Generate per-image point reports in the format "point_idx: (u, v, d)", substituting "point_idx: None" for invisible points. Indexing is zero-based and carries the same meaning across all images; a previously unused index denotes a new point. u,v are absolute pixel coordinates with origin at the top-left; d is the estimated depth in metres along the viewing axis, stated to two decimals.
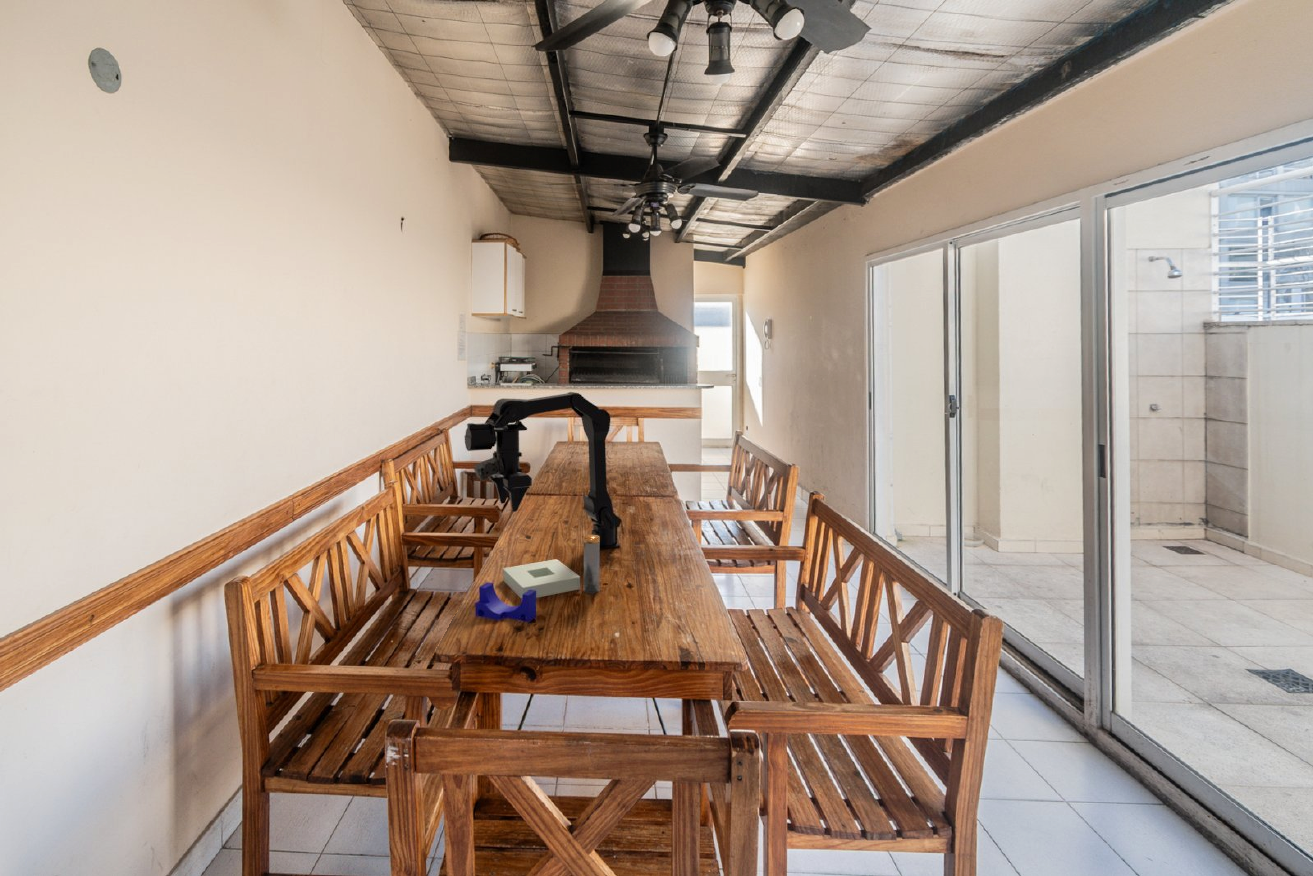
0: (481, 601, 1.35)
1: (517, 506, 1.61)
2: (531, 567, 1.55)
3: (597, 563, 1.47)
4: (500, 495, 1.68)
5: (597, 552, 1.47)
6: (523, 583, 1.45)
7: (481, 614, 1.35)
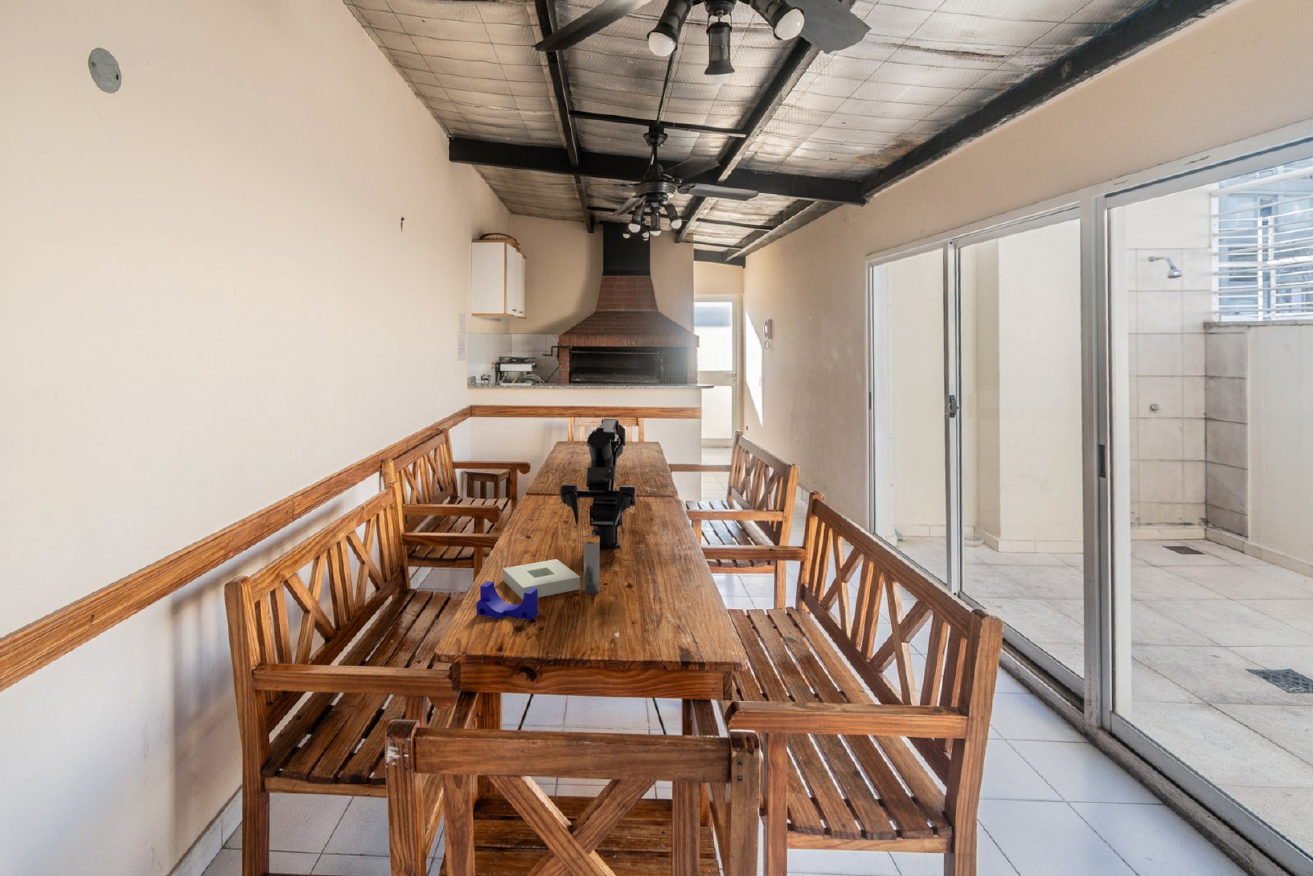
0: (482, 600, 1.36)
1: (617, 521, 1.57)
2: (531, 567, 1.55)
3: (597, 563, 1.47)
4: (577, 514, 1.57)
5: (597, 552, 1.47)
6: (523, 583, 1.45)
7: (482, 613, 1.35)
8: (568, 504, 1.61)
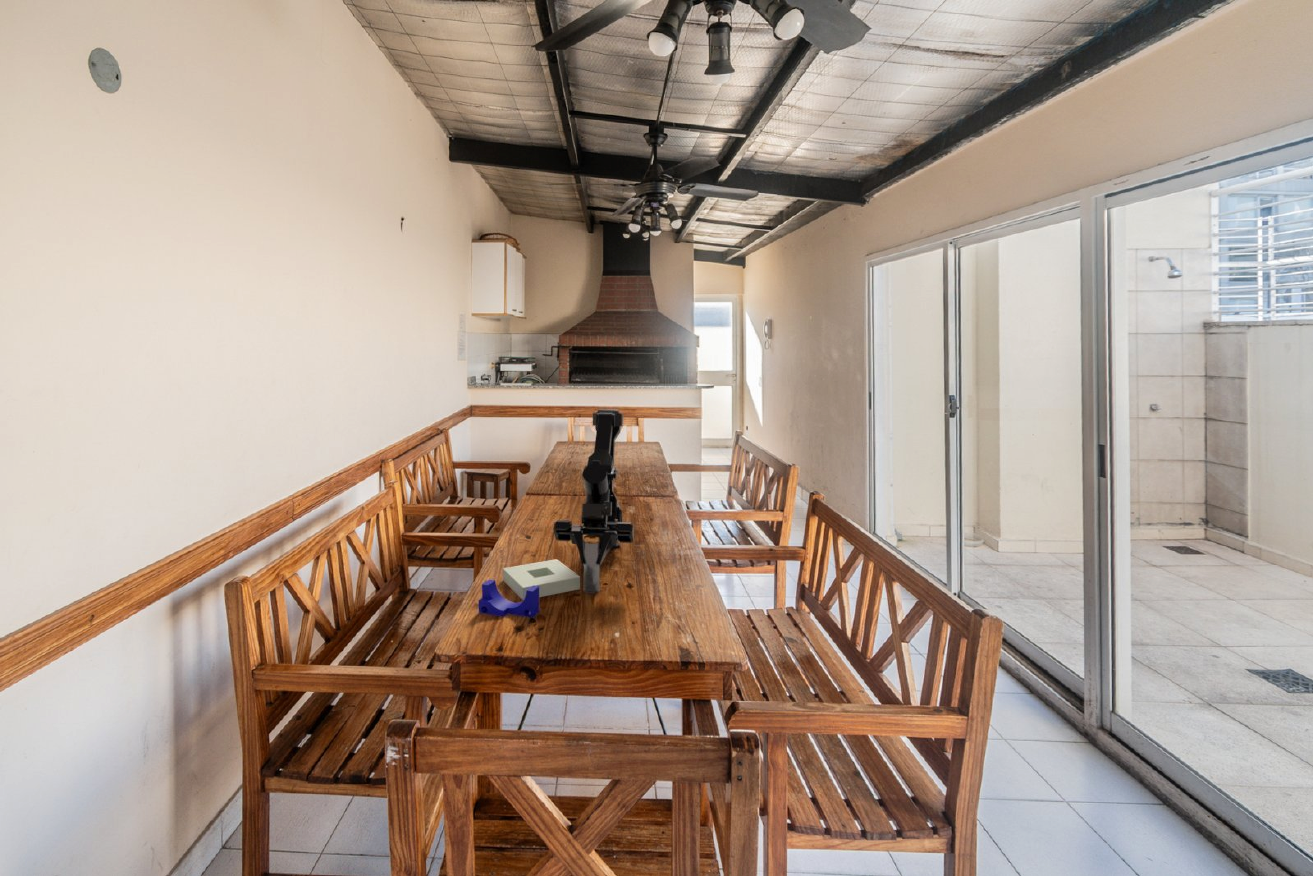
0: (484, 598, 1.37)
1: (602, 560, 1.48)
2: (531, 567, 1.55)
3: (597, 563, 1.47)
4: (583, 554, 1.48)
5: (597, 552, 1.47)
6: (523, 583, 1.45)
7: (484, 611, 1.36)
8: (573, 542, 1.52)
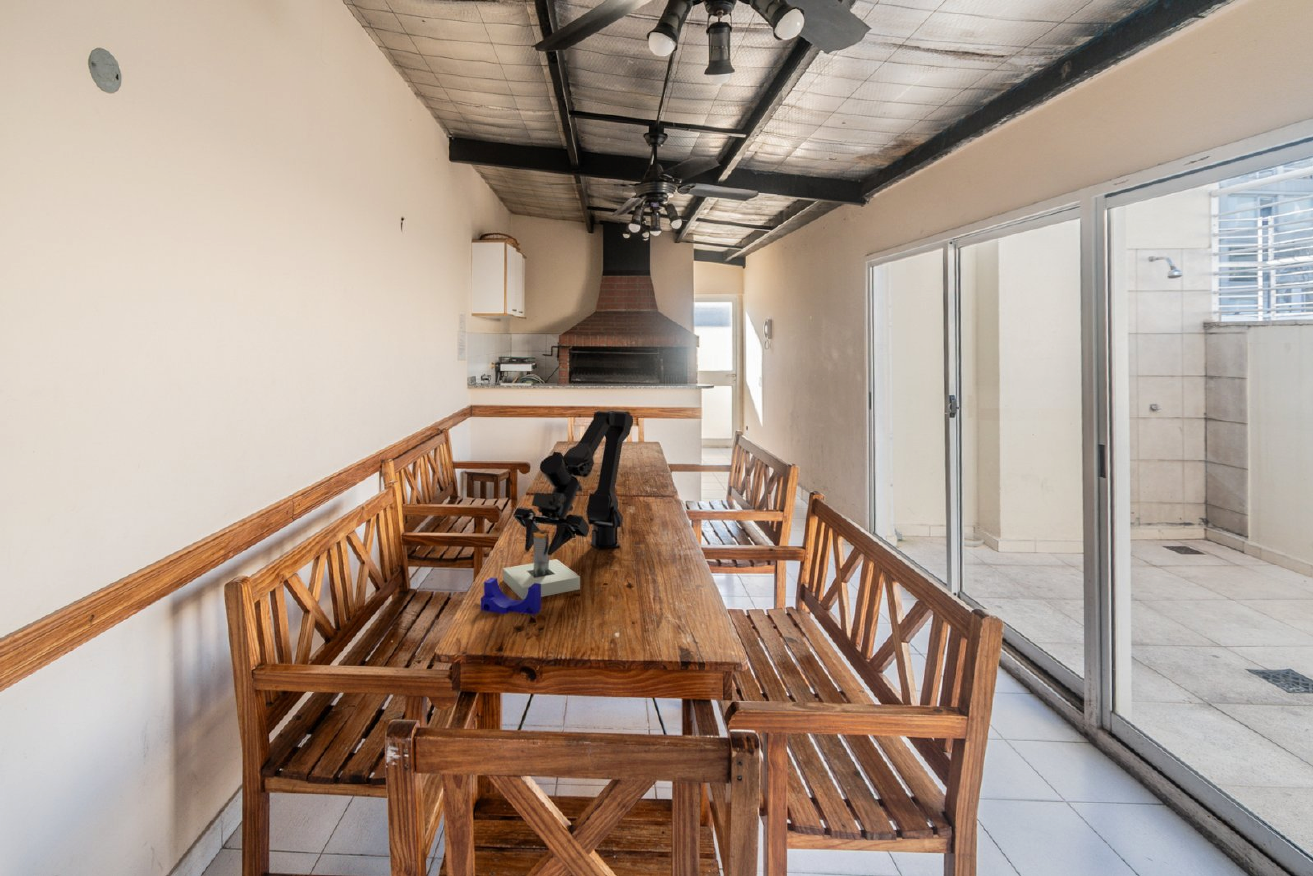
0: (486, 596, 1.38)
1: (554, 551, 1.50)
2: (531, 567, 1.55)
3: (544, 558, 1.50)
4: (529, 541, 1.52)
5: (544, 547, 1.49)
6: (523, 583, 1.45)
7: (486, 608, 1.38)
8: None
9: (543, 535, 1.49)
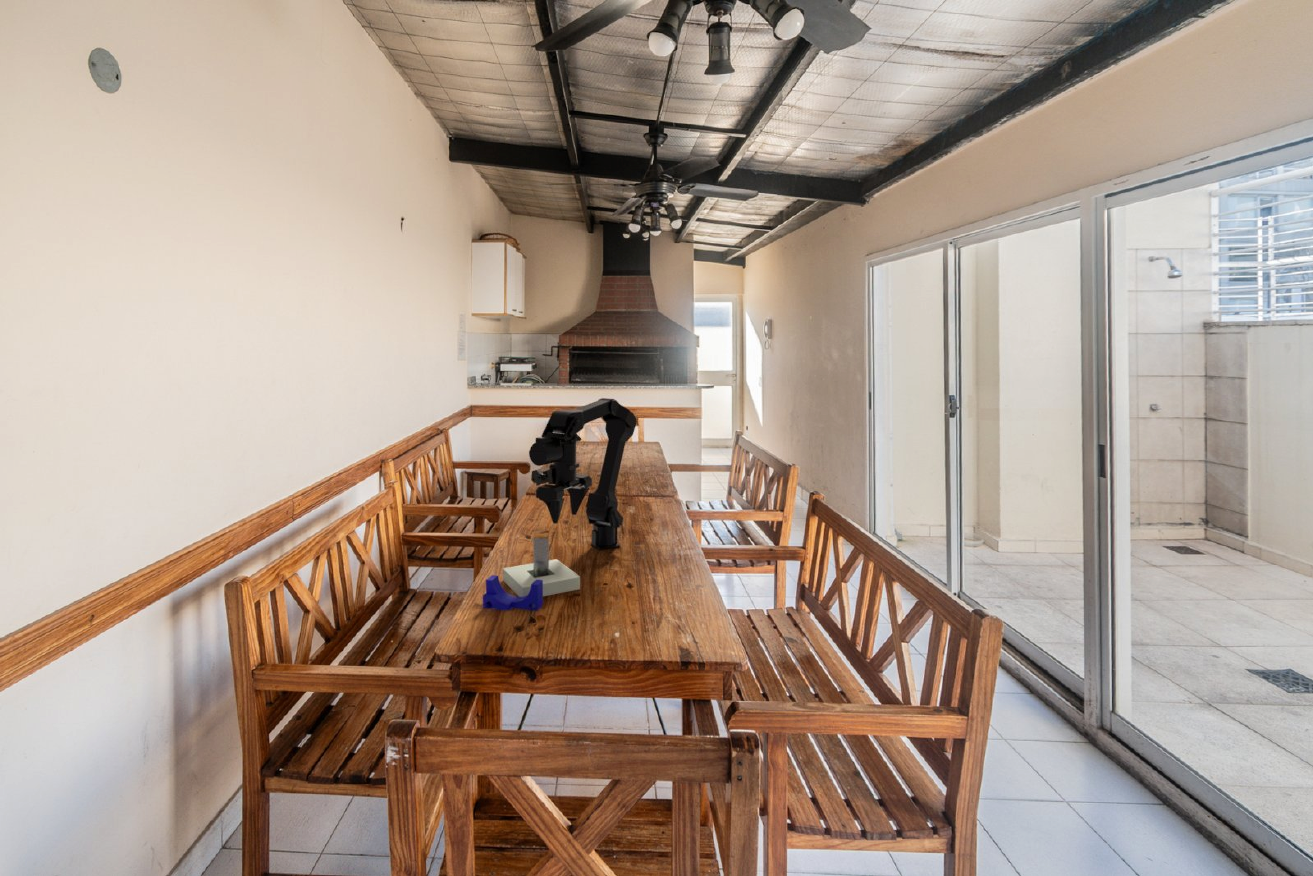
0: (488, 593, 1.39)
1: (556, 518, 1.60)
2: (531, 567, 1.55)
3: (544, 558, 1.50)
4: (571, 506, 1.69)
5: (543, 547, 1.49)
6: (523, 583, 1.45)
7: (489, 606, 1.39)
8: None
9: (543, 535, 1.49)
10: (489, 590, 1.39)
